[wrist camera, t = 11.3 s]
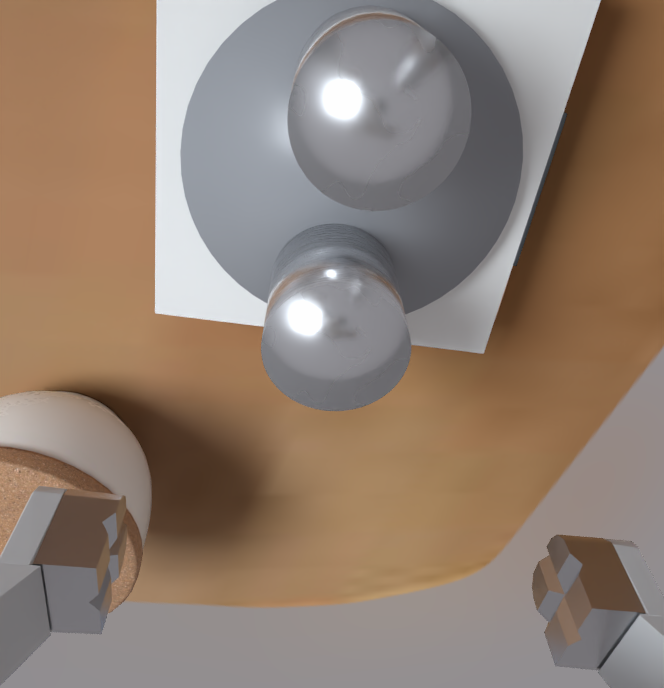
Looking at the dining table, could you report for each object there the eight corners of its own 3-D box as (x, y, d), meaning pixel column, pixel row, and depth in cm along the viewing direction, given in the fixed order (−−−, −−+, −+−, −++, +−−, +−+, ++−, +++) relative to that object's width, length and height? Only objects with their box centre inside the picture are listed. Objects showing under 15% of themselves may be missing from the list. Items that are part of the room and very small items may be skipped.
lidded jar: (-82, 398, 32) (-217, 548, 24) (93, 319, 29) (9, 455, 22) (52, 530, 37) (-21, 689, 29) (211, 472, 35) (178, 627, 27)
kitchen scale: (177, -91, 21) (151, -99, 18) (585, -17, 22) (630, -12, 19) (169, 280, 28) (150, 323, 25) (478, 320, 30) (498, 365, 27)
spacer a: (279, 214, 23) (269, 273, 19) (407, 233, 23) (427, 295, 19) (265, 327, 25) (254, 402, 21) (381, 342, 26) (393, 418, 22)
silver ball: (304, -8, 19) (299, 3, 15) (456, 19, 20) (494, 37, 15) (286, 150, 22) (277, 197, 17) (421, 170, 22) (445, 222, 18)
